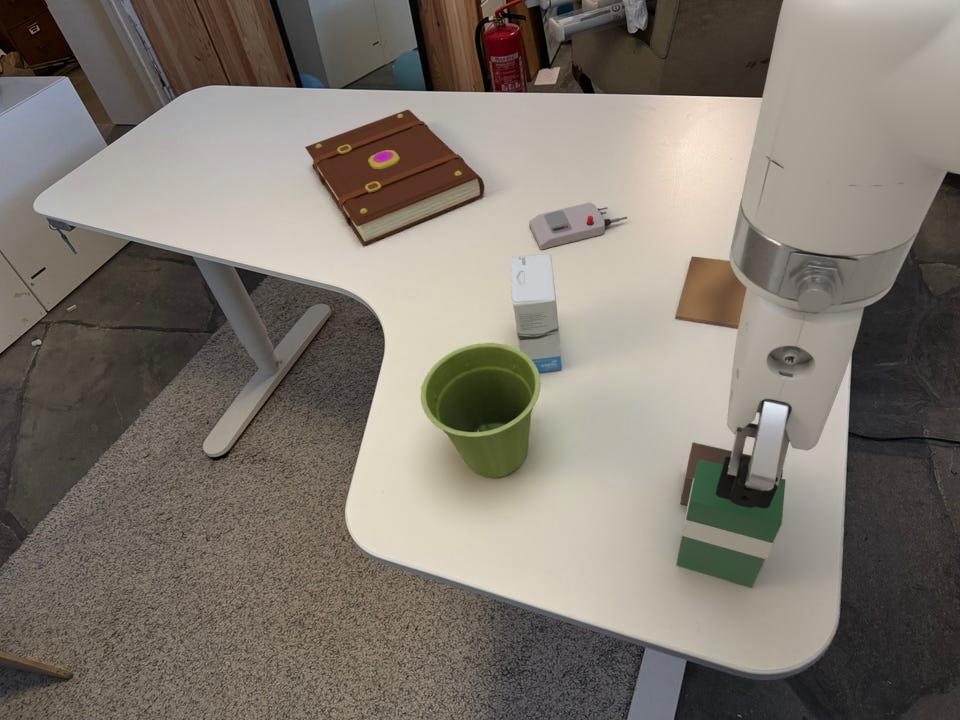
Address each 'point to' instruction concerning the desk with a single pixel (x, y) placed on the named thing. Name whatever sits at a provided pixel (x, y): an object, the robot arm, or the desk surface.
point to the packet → (726, 530)
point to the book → (392, 175)
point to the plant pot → (484, 404)
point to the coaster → (711, 293)
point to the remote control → (569, 225)
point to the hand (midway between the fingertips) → (749, 439)
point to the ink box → (536, 310)
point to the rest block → (696, 453)
